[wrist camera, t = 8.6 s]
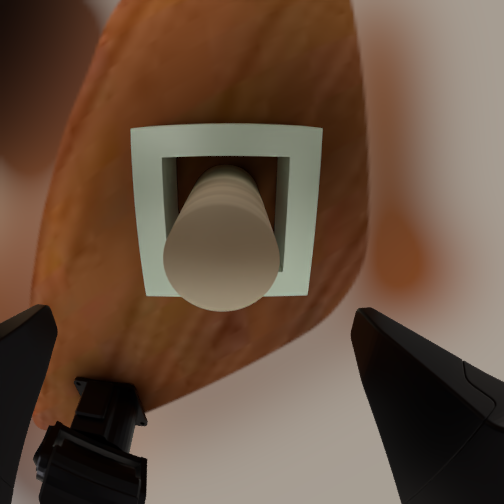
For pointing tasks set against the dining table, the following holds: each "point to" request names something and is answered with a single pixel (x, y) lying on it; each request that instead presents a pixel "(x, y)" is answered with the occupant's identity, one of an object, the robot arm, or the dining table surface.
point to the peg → (222, 243)
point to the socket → (228, 144)
